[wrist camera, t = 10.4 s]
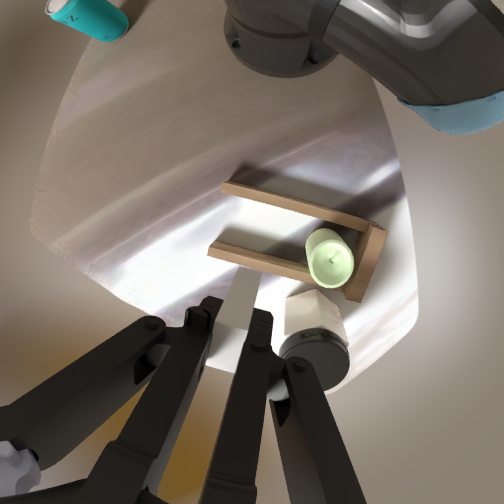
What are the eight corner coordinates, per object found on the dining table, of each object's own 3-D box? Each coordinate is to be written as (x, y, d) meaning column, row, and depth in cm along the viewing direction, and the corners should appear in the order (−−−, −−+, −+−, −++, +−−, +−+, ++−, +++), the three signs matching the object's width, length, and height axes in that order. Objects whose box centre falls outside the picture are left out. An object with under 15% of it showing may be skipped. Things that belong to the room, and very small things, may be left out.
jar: (348, 313, 39) (367, 365, 27) (311, 347, 41) (315, 404, 30) (304, 277, 38) (311, 324, 26) (266, 316, 40) (259, 370, 29)
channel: (228, 180, 35) (218, 183, 30) (375, 222, 34) (388, 232, 30) (213, 248, 38) (202, 260, 33) (352, 286, 37) (360, 302, 33)
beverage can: (109, 18, 28) (54, -14, 14) (137, 14, 28) (84, -26, 14) (98, 46, 30) (37, 20, 16) (125, 43, 30) (65, 10, 15)
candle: (311, 223, 35) (317, 236, 28) (347, 233, 35) (362, 249, 27) (300, 259, 37) (303, 282, 29) (336, 269, 37) (347, 293, 29)
